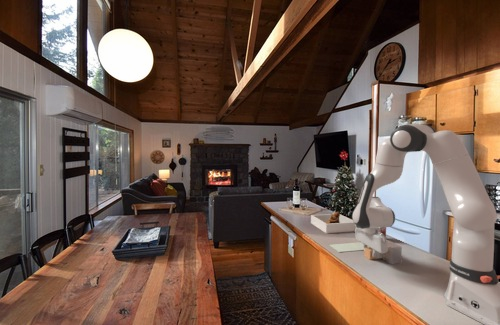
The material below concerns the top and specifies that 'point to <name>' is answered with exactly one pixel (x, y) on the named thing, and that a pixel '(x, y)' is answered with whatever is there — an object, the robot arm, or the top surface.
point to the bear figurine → (333, 218)
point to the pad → (348, 247)
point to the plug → (370, 254)
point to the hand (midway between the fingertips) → (370, 254)
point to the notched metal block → (393, 253)
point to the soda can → (383, 230)
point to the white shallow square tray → (333, 224)
